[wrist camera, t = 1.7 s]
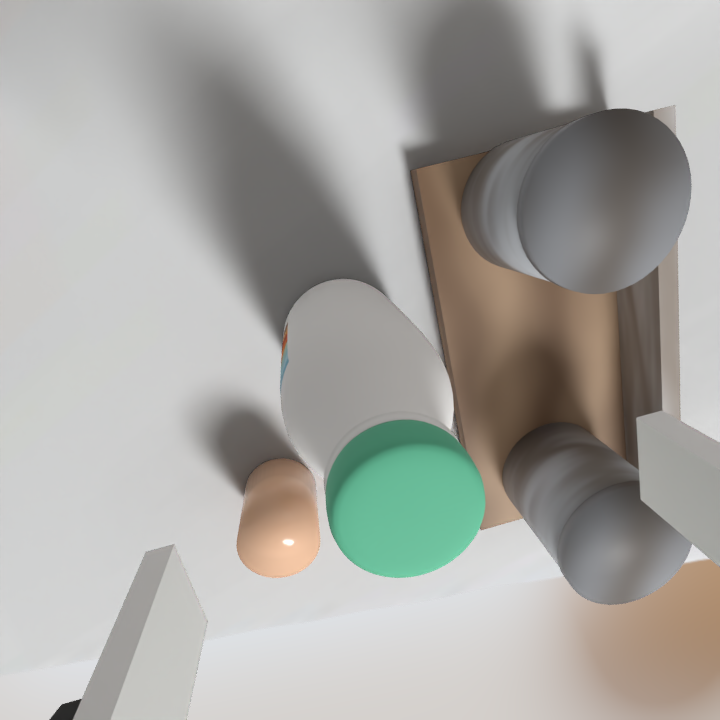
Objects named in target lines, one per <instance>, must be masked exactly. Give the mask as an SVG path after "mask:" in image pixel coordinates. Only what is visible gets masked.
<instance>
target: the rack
mask: <svg viewBox="0 0 720 720" xmlns="http://www.w3.org/2000/svg"><path fill="white" fill-rule="evenodd" d="M410 172H411V177H412V182H413V188H414V193H415V199H416V204H417V210H418V215H419V221H420V226H421V231H422V237H423V242H424V248H425V253H426V259H427V264H428V269H429V275H430V280H431V286H432V291H433V297H434V302H435V308H436V313H437V318H438V324H439V329H440V335H441V340H442V346H443V351H444V357H445V362H446V367H447V373H448V376H449V379H450V383H451V387H452V393H453V403H454V411H455V416H456V422H457V427H458V433H459V438H460V444H461V445H462V446H463V447H464V449H465V450H466V451H467V452H468V454H469V455H470V457H471V458H472V460H473V462H474V463H475V465H476V467H477V469H478V470H479V473H480V475H481V478H482V481H483V485H484V491H485V512H484V517H483V520H482V523H481V526H480V529H481V530H484V529H487V528H491V527H494V526H498V525H501V524H505V523H508V522H512V521H515V520H519V519H522V518H524V520H525V521H526V522H527V524H528V525H529V526H530V528H531V529H532V530H533V532H534V533H535V535H536V536H537V537H538V539H539V540H540V541H541V543H542V544H543V545H544V547H545V548H546V549H547V551H548V552H549V554H550V555H551V556H552V558H553V559H554V560H555V562H556V563H557V564H558V566H559V567H560V569H561V572H562V573H563V575H564V577H565V578H566V579H567V581H568V582H569V584H570V585H571V586H572V587H573V589H574V590H575V591H576V592H577V593H578V594H579V595H581V596H582V597H584V598H586V599H587V600H590V601H592V602H595V603H600V604H608V605H612V604H623V603H628V602H632V601H635V600H638V599H641V598H643V597H645V596H647V595H649V594H651V593H653V592H654V591H656V590H657V589H659V588H660V587H662V586H663V585H664V584H665V583H667V582H668V581H669V580H670V579H671V578H672V577H673V576H674V575H675V574H676V572H677V571H678V570H679V569H680V568H681V566H682V565H683V563H684V561H685V560H686V558H687V556H688V554H689V551H690V548H691V546H692V543H691V542H690V541H689V540H687V539H686V538H685V537H684V536H683V535H682V534H680V533H679V532H678V531H677V530H676V529H675V528H673V527H672V526H671V525H670V524H669V523H667V522H666V521H665V520H664V519H663V518H662V517H660V516H659V515H658V514H657V513H656V512H655V511H653V510H652V509H651V508H650V507H649V506H648V505H646V504H645V503H644V502H643V501H642V500H641V498H640V479H639V460H638V441H637V422H636V418H637V417H640V416H644V415H648V414H651V413H655V412H658V411H664V412H665V413H667V414H669V415H671V416H673V417H674V418H676V419H678V420H680V360H679V299H678V237H679V235H680V233H681V231H682V229H683V226H684V224H685V221H686V218H687V214H688V210H689V205H690V199H691V174H690V168H689V163H688V160H687V157H686V154H685V151H684V149H683V147H682V145H681V143H680V141H679V140H678V139H677V137H676V115H675V105H673V106H669V107H665V108H661V109H657V110H653V111H649V112H645V113H644V112H641V111H638V110H632V109H611V110H605V111H601V112H597V113H594V114H591V115H588V116H585V117H582V118H579V119H577V120H575V121H573V122H571V123H569V124H565V125H562V126H559V127H555V128H552V129H548V130H545V131H541V132H538V133H535V134H531V135H528V136H524V137H521V138H518V139H514V140H511V141H508V142H505V143H503V144H501V145H499V146H497V147H495V148H494V149H492V150H491V151H488V152H484V153H480V154H476V155H472V156H468V157H463V158H459V159H455V160H451V161H447V162H443V163H439V164H435V165H431V166H427V167H422V168H418V169H415V170H411V171H410Z"/></svg>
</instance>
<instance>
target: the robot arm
mask: <svg viewBox="0 0 720 720" xmlns="http://www.w3.org/2000/svg"><path fill="white" fill-rule="evenodd" d="M636 422H637V441H638V460H639V479H640V498H641V500H642V501H643V502H644V503H645V504H646V505H648V506H649V507H650V508H651V509H652V510H653V511H655V512H656V513H657V514H658V515H659V516H660V517H662V518H663V519H664V520H665V521H666V522H667V523H669V524H670V525H671V526H672V527H673V528H675V529H676V530H677V531H678V532H679V533H680V534H682V535H683V536H684V537H685V538H686V539H687V540H689V541H690V542H691V543H692V544H693V545H694V546H696V547H697V548H698V549H699V550H700V551H701V552H703V553H704V554H705V555H706V556H707V557H708V558H710V559H711V560H712V561H713V562H714V563H716V564H717V565H718V566H719V567H720V443H719V442H717V441H715V440H714V439H712V438H710V437H708V436H707V435H705V434H703V433H701V432H699V431H698V430H696V429H694V428H692V427H690V426H689V425H687V424H685V423H683V422H682V421H680V420H678V419H676V418H674V417H673V416H671V415H669V414H667V413H665V412H664V411H658V412H655V413H651V414H648V415H644V416H640V417H637V418H636ZM207 622H208V621H207V619H206V617H205V614H204V612H203V610H202V607H201V605H200V603H199V600H198V598H197V596H196V594H195V591H194V589H193V587H192V584H191V582H190V580H189V577H188V575H187V573H186V570H185V568H184V566H183V563H182V561H181V559H180V556H179V554H178V552H177V550H176V547H175V545H174V544H173V545H169V546H166V547H162V548H158V549H155V550H151V551H148V552H146V553H145V555H144V558H143V560H142V562H141V564H140V567H139V569H138V571H137V574H136V576H135V578H134V580H133V583H132V585H131V587H130V590H129V592H128V594H127V597H126V599H125V601H124V603H123V606H122V608H121V610H120V613H119V615H118V617H117V619H116V622H115V624H114V626H113V629H112V631H111V633H110V636H109V638H108V640H107V642H106V645H105V647H104V649H103V652H102V654H101V656H100V658H99V661H98V663H97V665H96V668H95V670H94V673H93V675H92V677H91V679H90V681H89V684H88V686H87V688H86V691H85V693H84V695H83V698H82V699H80V700H76V701H73V702H69V703H65V704H62V705H61V706H60V707H59V709H58V710H57V711H56V712H55V714H54V715H53V716H52V717H51V719H50V720H187V716H188V711H189V706H190V702H191V697H192V692H193V688H194V683H195V678H196V674H197V669H198V664H199V660H200V655H201V650H202V646H203V641H204V636H205V632H206V627H207Z"/></svg>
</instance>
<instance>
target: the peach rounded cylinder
mask: <svg viewBox="0 0 720 720" xmlns="http://www.w3.org/2000/svg"><path fill="white" fill-rule="evenodd" d="M319 547H320V532H319V520H318V508H317V496H316V484H315V480H314V477H313V475H312V473H311V472H310V471H309V469H308V468H306V467H305V466H304V465H303V464H301V463H299V462H297V461H295V460H291V459H283V458H280V459H273V460H269V461H266V462H264V463H262V464H261V465H259V466H258V467H257V468H255V469H254V471H253V472H252V473H251V474H250V476H249V478H248V480H247V483H246V489H245V495H244V501H243V507H242V513H241V519H240V525H239V531H238V537H237V552H238V555H239V557H240V559H241V561H242V562H243V564H244V565H245V566H246V567H247V568H249V569H250V570H251V571H253V572H255V573H257V574H259V575H262V576H266V577H272V578H281V577H287V576H291V575H294V574H296V573H298V572H300V571H302V570H304V569H305V568H306V567H308V566H309V565H310V564H311V563H312V561H313V560H314V559H315V557H316V555H317V553H318V551H319Z"/></svg>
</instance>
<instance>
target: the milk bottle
mask: <svg viewBox="0 0 720 720" xmlns="http://www.w3.org/2000/svg"><path fill="white" fill-rule="evenodd" d="M280 391H281V408H282V414H283V419H284V422H285V426H286V429H287V432H288V435H289V437H290V440H291V441H292V443H293V445H294V447H295V449H296V450H297V452H298V454H299V455H300V456H301V458H302V459H303V460H304V461H305V463H306V464H307V465H308V466H309V467H310V468H311V469H312V470H313V471H314V472H315V473H316V474H318V475H319V476H320V477H322V478H323V479H324V490H325V495H326V510H327V516H328V521H329V526H330V529H331V533H332V535H333V537H334V539H335V541H336V543H337V545H338V546H339V548H340V549H341V551H342V552H343V553H344V555H345V556H346V557H347V558H348V559H349V560H350V561H352V562H353V563H354V564H355V565H357V566H358V567H360V568H362V569H364V570H366V571H368V572H370V573H373V574H376V575H380V576H385V577H394V578H403V577H413V576H418V575H422V574H426V573H429V572H431V571H434V570H436V569H438V568H441V567H442V566H444V565H446V564H448V563H449V562H451V561H452V560H454V559H455V558H456V557H457V556H459V555H460V554H461V553H462V552H463V551H464V550H465V549H466V548H467V547H468V545H469V544H470V543H471V542H472V540H473V539H474V537H475V536H476V534H477V532H478V530H479V528H480V526H481V523H482V520H483V517H484V512H485V491H484V485H483V481H482V478H481V475H480V473H479V470H478V469H477V467H476V465H475V463H474V462H473V460H472V458H471V457H470V455H469V454H468V452H467V451H466V450H465V449H464V447H463V446H462V445H461V444H460V442H459V440H458V439H457V437H456V436H455V434H454V433H453V432H452V431H451V427H452V422H453V412H454V403H453V393H452V387H451V383H450V379H449V376H448V373H447V371H446V368H445V366H444V364H443V362H442V360H441V358H440V356H439V354H438V353H437V351H436V350H435V348H434V347H433V346H432V344H431V343H430V342H429V341H428V339H427V338H426V337H425V336H424V335H423V333H422V332H421V331H420V330H419V329H418V328H417V327H416V326H415V325H414V324H413V323H412V322H411V321H410V320H409V318H408V317H407V316H406V315H405V314H404V313H403V312H402V311H401V310H400V309H399V308H398V307H396V306H395V305H394V304H393V303H392V302H391V301H390V300H389V299H388V298H387V297H386V296H385V295H384V294H383V293H381V292H380V291H379V290H377V289H376V288H374V287H373V286H371V285H369V284H367V283H364V282H361V281H357V280H352V279H335V280H330V281H326V282H323V283H320V284H318V285H316V286H314V287H312V288H311V289H309V290H308V291H307V292H305V293H304V294H303V295H302V296H301V297H300V298H299V299H298V300H297V301H296V303H295V304H294V305H293V307H292V309H291V310H290V312H289V314H288V317H287V320H286V323H285V327H284V333H283V343H282V358H281V381H280Z"/></svg>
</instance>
